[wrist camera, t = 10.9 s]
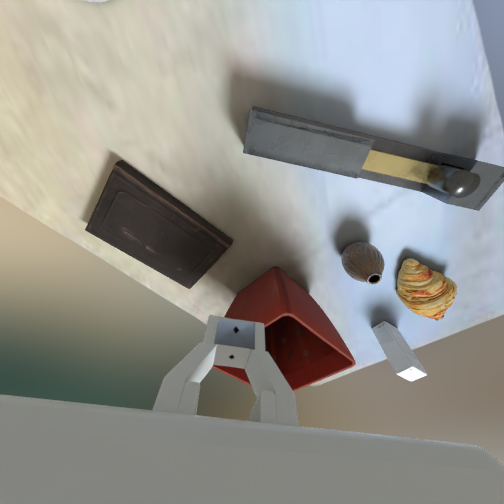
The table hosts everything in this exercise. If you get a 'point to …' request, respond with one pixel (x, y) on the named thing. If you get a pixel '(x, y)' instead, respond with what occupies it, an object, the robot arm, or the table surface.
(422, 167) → the sliding bolt
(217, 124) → the table surface
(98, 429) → the robot arm
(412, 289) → the croissant
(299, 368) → the plant pot
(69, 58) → the table surface
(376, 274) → the vase
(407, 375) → the skincare box
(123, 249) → the hardcover book
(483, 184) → the guide
